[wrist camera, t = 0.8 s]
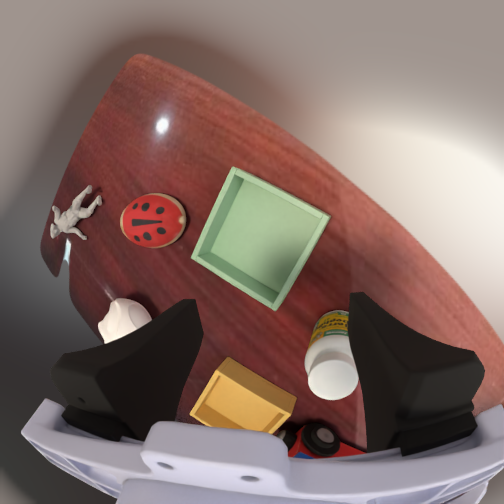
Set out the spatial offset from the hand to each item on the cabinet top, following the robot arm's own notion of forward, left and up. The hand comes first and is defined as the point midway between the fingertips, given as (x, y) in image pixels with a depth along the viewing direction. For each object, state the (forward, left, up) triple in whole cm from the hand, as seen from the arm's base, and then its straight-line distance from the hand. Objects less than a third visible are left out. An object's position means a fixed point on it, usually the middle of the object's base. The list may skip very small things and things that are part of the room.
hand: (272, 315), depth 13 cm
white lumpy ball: (+15, +20, -17) cm, 30 cm away
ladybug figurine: (+18, +6, -17) cm, 25 cm away
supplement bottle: (-7, +6, -17) cm, 19 cm away
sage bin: (+5, +1, -16) cm, 17 cm away
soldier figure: (+33, +12, -17) cm, 39 cm away
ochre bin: (-3, +21, -16) cm, 27 cm away
